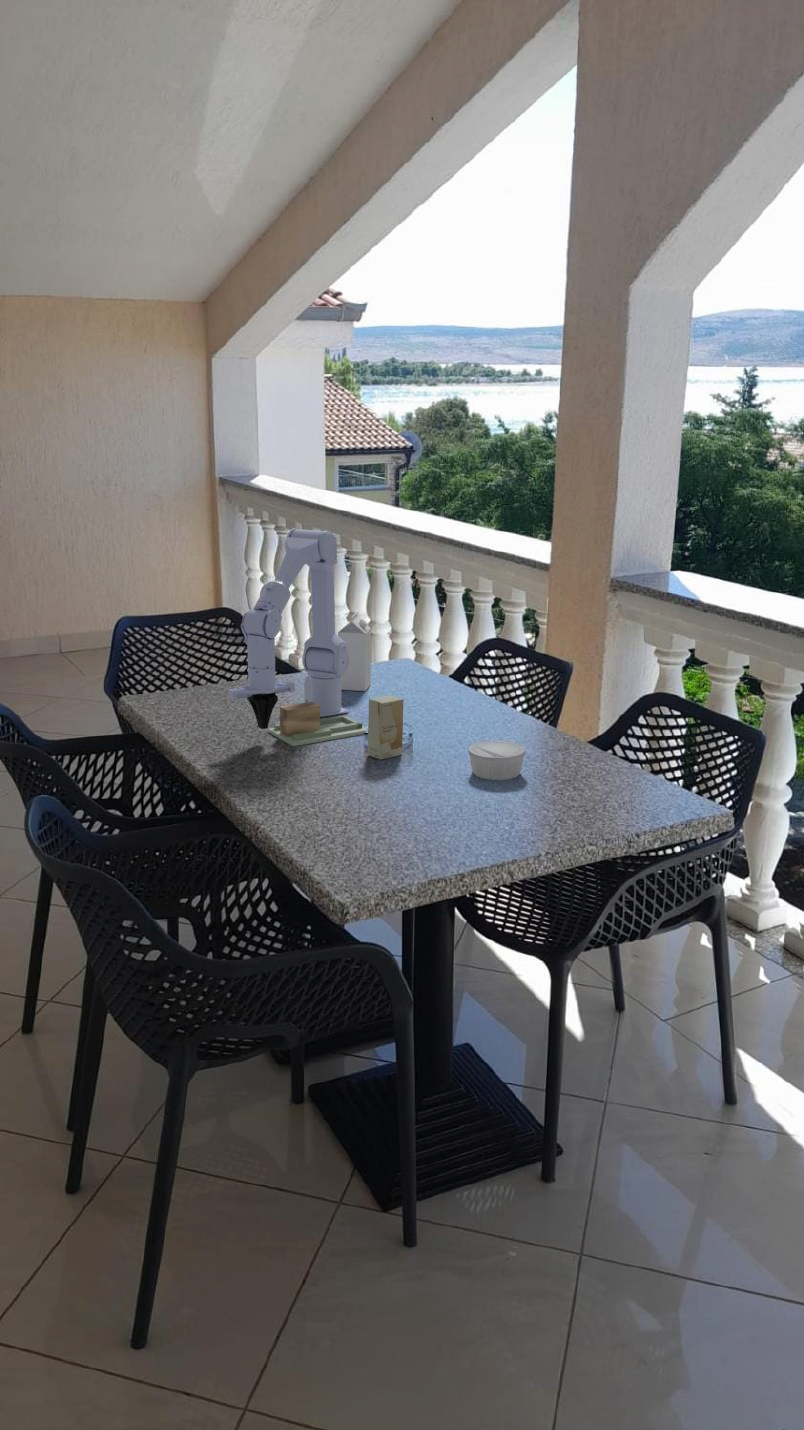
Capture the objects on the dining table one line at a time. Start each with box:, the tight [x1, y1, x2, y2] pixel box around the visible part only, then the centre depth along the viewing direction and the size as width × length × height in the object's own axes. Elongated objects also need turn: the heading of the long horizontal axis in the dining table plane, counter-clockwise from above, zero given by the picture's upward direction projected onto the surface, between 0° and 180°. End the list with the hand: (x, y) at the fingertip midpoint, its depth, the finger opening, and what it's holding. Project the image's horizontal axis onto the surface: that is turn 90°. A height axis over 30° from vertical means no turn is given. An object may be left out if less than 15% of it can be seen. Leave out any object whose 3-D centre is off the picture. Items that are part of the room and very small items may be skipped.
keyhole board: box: [267, 714, 368, 747], centre depth 246 cm, size 12×19×2 cm, turn 122°
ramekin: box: [468, 740, 526, 782], centre depth 221 cm, size 11×11×5 cm
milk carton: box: [337, 611, 372, 692], centre depth 282 cm, size 7×7×19 cm
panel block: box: [279, 702, 321, 737], centre depth 243 cm, size 4×8×6 cm, turn 122°
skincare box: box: [367, 694, 404, 761], centre depth 230 cm, size 6×4×12 cm
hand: (263, 727), depth 239 cm, fingers closed
